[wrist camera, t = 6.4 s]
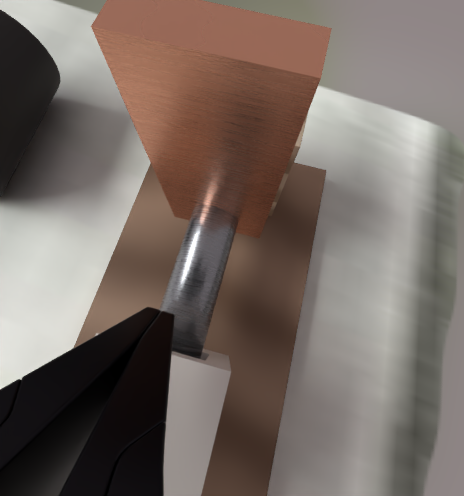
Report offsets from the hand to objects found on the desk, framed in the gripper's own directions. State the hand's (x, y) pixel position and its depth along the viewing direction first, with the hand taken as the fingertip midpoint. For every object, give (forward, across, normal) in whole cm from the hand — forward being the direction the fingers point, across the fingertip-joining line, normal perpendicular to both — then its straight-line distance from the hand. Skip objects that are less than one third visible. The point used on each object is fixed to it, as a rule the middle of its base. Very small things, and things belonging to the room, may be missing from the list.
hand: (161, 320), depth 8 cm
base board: (+8, 0, +5) cm, 9 cm away
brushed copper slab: (+7, 0, +1) cm, 7 cm away
